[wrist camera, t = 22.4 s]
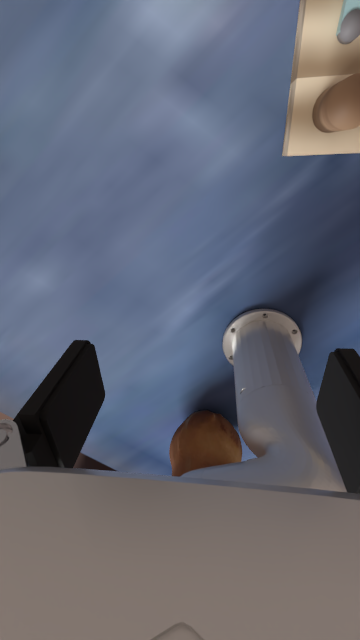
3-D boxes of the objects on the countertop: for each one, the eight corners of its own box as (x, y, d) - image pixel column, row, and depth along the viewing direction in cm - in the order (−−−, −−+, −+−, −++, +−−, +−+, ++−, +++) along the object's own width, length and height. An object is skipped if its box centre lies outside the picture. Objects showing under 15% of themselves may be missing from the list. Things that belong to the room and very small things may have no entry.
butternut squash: (237, 445, 62) (247, 600, 41) (175, 440, 64) (153, 587, 42) (241, 397, 55) (256, 554, 34) (172, 394, 57) (144, 541, 35)
